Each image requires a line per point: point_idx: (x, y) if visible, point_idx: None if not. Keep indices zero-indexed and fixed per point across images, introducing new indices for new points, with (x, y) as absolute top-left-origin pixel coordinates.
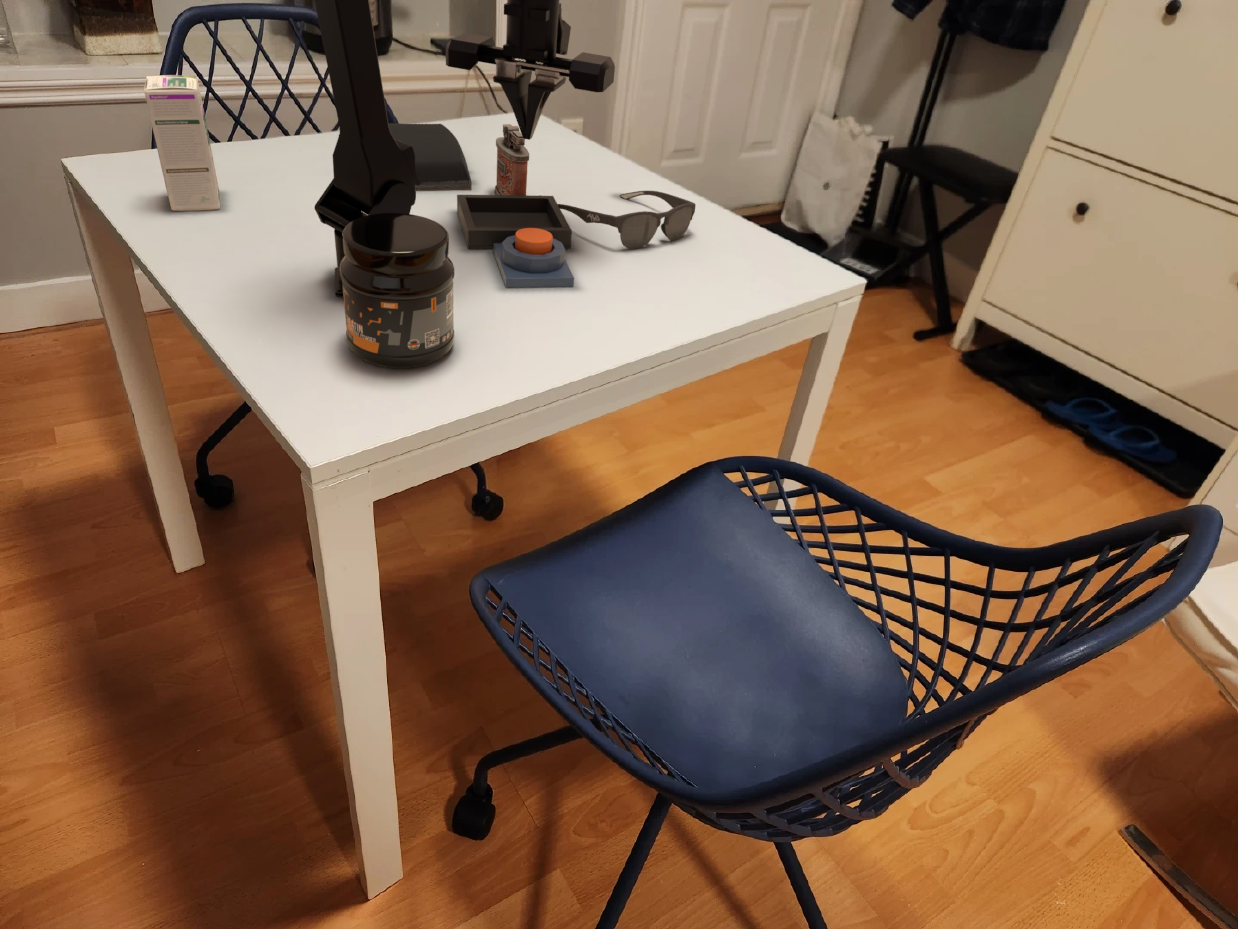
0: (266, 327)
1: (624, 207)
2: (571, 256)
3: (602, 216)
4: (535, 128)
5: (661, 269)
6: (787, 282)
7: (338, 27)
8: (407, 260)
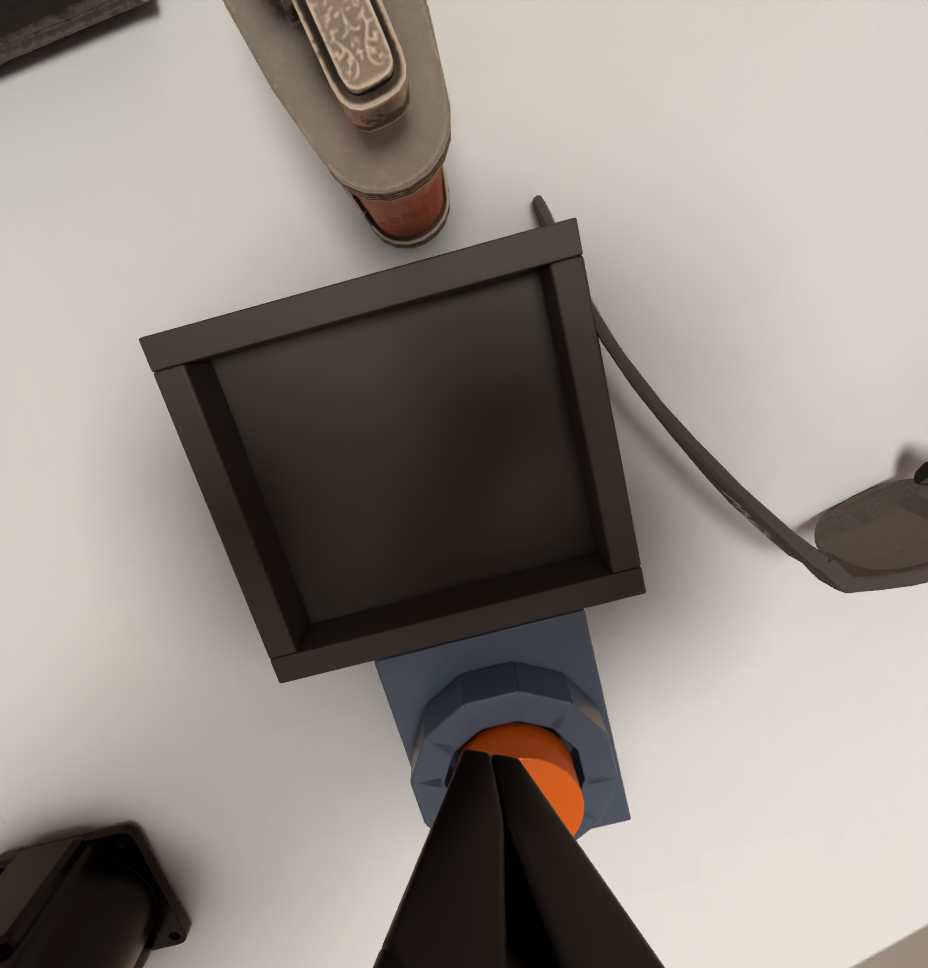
0: None
1: (899, 46)
2: (624, 613)
3: (789, 550)
4: (554, 811)
5: (902, 636)
6: None
7: None
8: None
